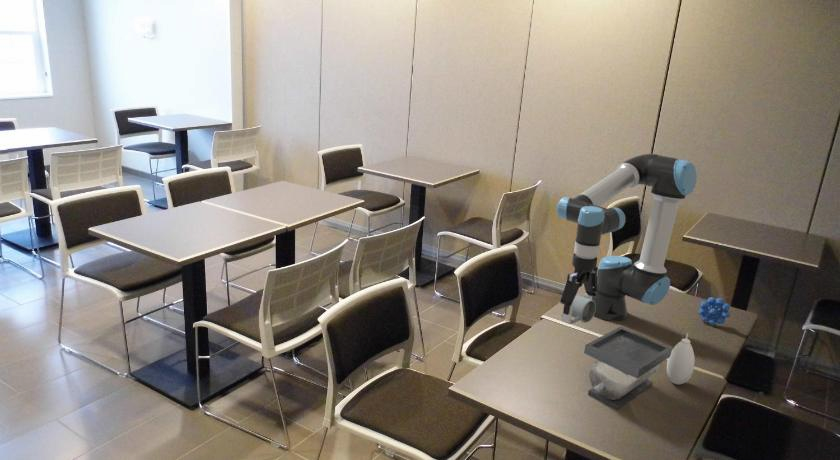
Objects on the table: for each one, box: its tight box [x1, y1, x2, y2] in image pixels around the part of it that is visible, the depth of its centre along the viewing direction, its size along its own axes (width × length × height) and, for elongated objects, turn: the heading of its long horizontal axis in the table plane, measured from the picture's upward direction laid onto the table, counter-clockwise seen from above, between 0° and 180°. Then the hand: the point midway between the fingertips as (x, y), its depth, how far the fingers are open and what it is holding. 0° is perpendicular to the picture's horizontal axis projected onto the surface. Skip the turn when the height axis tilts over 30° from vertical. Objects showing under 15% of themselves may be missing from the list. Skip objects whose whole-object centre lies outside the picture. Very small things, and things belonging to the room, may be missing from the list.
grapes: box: [697, 296, 731, 326], centre depth 234 cm, size 12×7×12 cm, turn 43°
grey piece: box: [583, 326, 673, 411], centre depth 185 cm, size 21×17×15 cm
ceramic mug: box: [561, 294, 596, 325], centre depth 198 cm, size 11×8×8 cm
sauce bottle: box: [666, 332, 696, 385], centre depth 190 cm, size 8×8×18 cm
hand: (576, 317), depth 199 cm, fingers closed on ceramic mug, 11 cm apart
